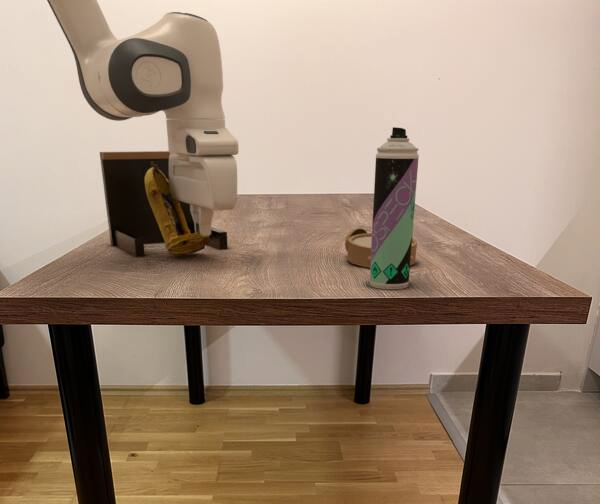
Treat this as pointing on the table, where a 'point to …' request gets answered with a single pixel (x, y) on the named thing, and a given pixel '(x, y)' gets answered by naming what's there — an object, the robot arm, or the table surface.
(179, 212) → the shrine
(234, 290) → the table surface
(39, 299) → the table surface
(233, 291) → the table surface
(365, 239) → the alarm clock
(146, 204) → the black display stand
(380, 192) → the spray can
